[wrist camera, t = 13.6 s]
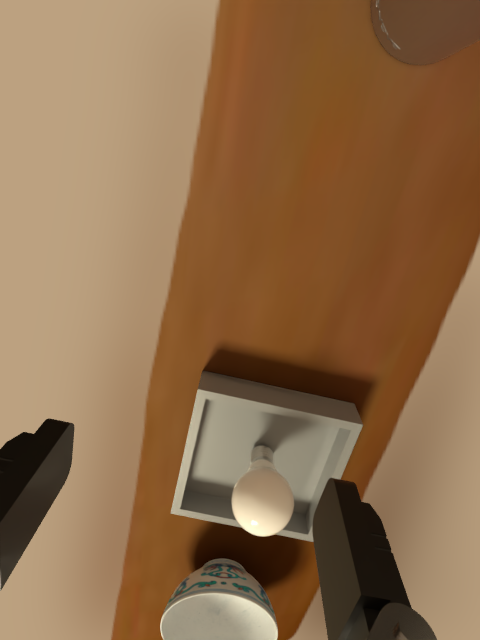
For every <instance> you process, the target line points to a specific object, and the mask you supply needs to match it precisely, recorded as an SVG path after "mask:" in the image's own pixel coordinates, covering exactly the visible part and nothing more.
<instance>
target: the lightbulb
mask: <svg viewBox="0 0 480 640" xmlns="http://www.w3.org/2000/svg"><path fill="white" fill-rule="evenodd" d="M273 461H274V460H273V452H272V450H271V449H270V448H269V447H267V446H257V447H255V448H254V449H253V450H252V451H251V461H250V466H249V468H248V471H247V472H246V473H245V474H243V475H242V476H241V477H240V478H239V480H238V481H237V483H236V484H235V487H234V489H233V492H232V499H231V503H232V510H233V514H234V516H235V518H236V520H237V522H238V523H239V525H240V526H241V527H242V528H243V529H244V530H246V531H247V532H249V533H250V534H253V535H256V536H261V537H266V536H271V535H274V534H276V533H278V532H280V531H281V530H282V529H284V528H285V526H286V525H287V524H288V522H289V521H290V519H291V517H292V514H293V509H294V496H293V492H292V489H291V487H290V485H289V483H288V482H287V480H286V479H285V478H284V477H283V476H282V475H281V474H280V473H278V472H277V470H276V468H275V466H274V462H273Z"/></svg>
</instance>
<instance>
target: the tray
mask: <svg viewBox="0 0 480 640" xmlns="http://www.w3.org/2000/svg"><path fill="white" fill-rule="evenodd" d="M362 426H363V423H362V421H361V418H360V416H359V414H358V411H357V409H356V406H355V404H354V403H350V402H345V401H340V400H336V399H331V398H327V397H322V396H318V395H313V394H308V393H304V392H299V391H295V390H290V389H285V388H281V387H276V386H272V385H267V384H263V383H258V382H253V381H249V380H244V379H240V378H235V377H231V376H226V375H221V374H217V373H212V372H208V371H202V375H201V379H200V383H199V387H198V391H197V395H196V400H195V405H194V409H193V414H192V418H191V423H190V427H189V432H188V436H187V441H186V446H185V450H184V455H183V459H182V464H181V468H180V473H179V477H178V482H177V487H176V491H175V496H174V500H173V505H172V509H171V514H176V515H181V516H186V517H191V518H196V519H201V520H206V521H211V522H216V523H221V524H226V525H231V526H236V527H241V526H240V525H239V523H238V522H237V520H236V518H235V516H234V514H233V510H232V503H231V499H232V492H233V489H234V487H235V484H236V483H237V481H238V480H239V478H240V477H241V476H242V475H243V474H245V473H246V472H247V471H248V468H249V466H250V461H251V451H252V450H253V449H254V448H255V447H257V446H267V447H269V448H270V449H271V450H272V452H273V460H274V461H273V462H274V466H275V468H276V470H277V472H278V473H280V474H281V475H282V476H283V477H284V478H285V479H286V480H287V482H288V483H289V485H290V487H291V489H292V492H293V496H294V509H293V514H292V517H291V519H290V521H289V522H288V524H287V525H286V526H285V528H284V529H282V530H281V531H280V532H278V533H276V535H281V536H286V537H291V538H296V539H301V540H306V541H311V542H314V540H313V532H312V525H313V517H314V513H315V510H316V508H317V505H318V503H319V500H320V498H321V495H322V493H323V490H324V488H325V485H326V483H327V481H328V479H329V478H335V479H341V476H342V474H343V471H344V469H345V467H346V464H347V462H348V460H349V457H350V455H351V452H352V450H353V448H354V445H355V443H356V441H357V438H358V436H359V433H360V431H361V429H362ZM241 528H242V527H241Z"/></svg>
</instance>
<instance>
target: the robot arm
mask: <svg viewBox="0 0 480 640" xmlns="http://www.w3.org/2000/svg"><path fill="white" fill-rule="evenodd" d="M371 17H372V23H373V27H374V30H375V34H376V36H377V37H378V39H379V41H380V43H381V45H382V46H383V47H384V48H385V49H386V51H387V52H388V53H389V54H390V55H392V56H393V57H395V58H396V59H398V60H399V61H402V62H405V63H408V64H414V65H425V64H431V63H435V62H437V61H440V60H442V59H445V58H447V57H449V56H451V55H452V54H454V53H456V52H458V51H460V50H462V49H463V48H465V47H468V46H469V45H471V44H473V43H475V42H477V41H479V40H480V0H371ZM73 437H74V424H73V423H68V422H63V421H58V420H54V419H46V420H45V421H44V422H43V424H42V425H41V426H40V427H39V429H38V430H37V431H36V433H35V434H32V433H27V432H23V433H21V434H20V435H18V436H16V437H15V438H13V439H11V440H10V441H8V442H6V443H5V445H4V446H3V447H2V448H1V449H0V591H1V589H2V588H3V586H4V584H5V583H6V581H7V579H8V577H9V576H10V574H11V573H12V571H13V569H14V568H15V566H16V564H17V563H18V561H19V559H20V557H21V556H22V554H23V552H24V551H25V549H26V547H27V546H28V544H29V542H30V541H31V539H32V537H33V536H34V534H35V532H36V531H37V529H38V527H39V525H40V524H41V522H42V520H43V519H44V517H45V515H46V514H47V512H48V510H49V509H50V507H51V505H52V503H53V502H54V500H55V499H56V497H57V495H58V493H59V492H60V490H61V488H62V487H63V485H64V483H65V481H66V479H67V477H68V474H69V471H70V467H71V462H72V451H73V439H74V438H73ZM312 532H313V540H314V547H315V554H316V560H317V567H318V574H319V581H320V587H321V594H322V601H323V608H324V614H325V621H326V627H327V635H328V640H437V638H436V636H435V634H434V632H433V631H432V629H431V627H430V626H429V625H428V623H427V622H426V621H425V619H424V618H423V617H422V616H421V615H420V614H418V613H417V612H416V611H415V610H413V609H412V608H411V605H410V602H409V600H408V597H407V594H406V591H405V588H404V585H403V582H402V580H401V576H400V573H399V571H398V568H397V565H396V562H395V559H394V556H393V553H391V547H390V544H389V541H388V539H386V533H385V530H384V527H383V524H382V521H381V519H380V517H379V516H378V515H377V513H376V512H375V511H374V509H373V508H372V506H371V505H370V504H368V503H364V502H361V499H360V496H359V493H358V490H357V487H356V484H355V483H354V482H349V481H345V480H340V479H335V478H329V479H328V481H327V483H326V485H325V488H324V490H323V493H322V495H321V498H320V500H319V503H318V505H317V508H316V510H315V513H314V517H313V525H312Z"/></svg>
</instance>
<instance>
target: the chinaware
mask: <svg viewBox="0 0 480 640" xmlns="http://www.w3.org/2000/svg"><path fill="white" fill-rule="evenodd" d="M160 630H161V635H162V638H163V640H277V637H278V628H277V623H276V618H275V615H274V611H273V608H272V605H271V603H270V600H269V598H268V596H267V594H266V593H265V591H264V589H263V588H262V586H261V585H260V584H259V583H258V581H257V580H256V579H255V578H254V577H253V576H251V575H250V574H249V573H248V572H246V571H245V569H244V568H243V567H242V565H240V564H239V563H237V562H236V561H233V560H230V559H224V558H220V559H214V560H211V561H209V562H207V563H206V564H205V565H204V566H203V567H202V568H200V569H198V570H196V571H194V572H193V573H191V574H190V575H189V576H188V577H186V578H185V579H184V580H183V581H182V582H181V583H180V585H179V586H178V587H177V589H176V590H175V591H174V593H173V595H172V596H171V598H170V600H169V602H168V604H167V606H166V608H165V611H164V613H163V616H162V619H161V624H160Z"/></svg>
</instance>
